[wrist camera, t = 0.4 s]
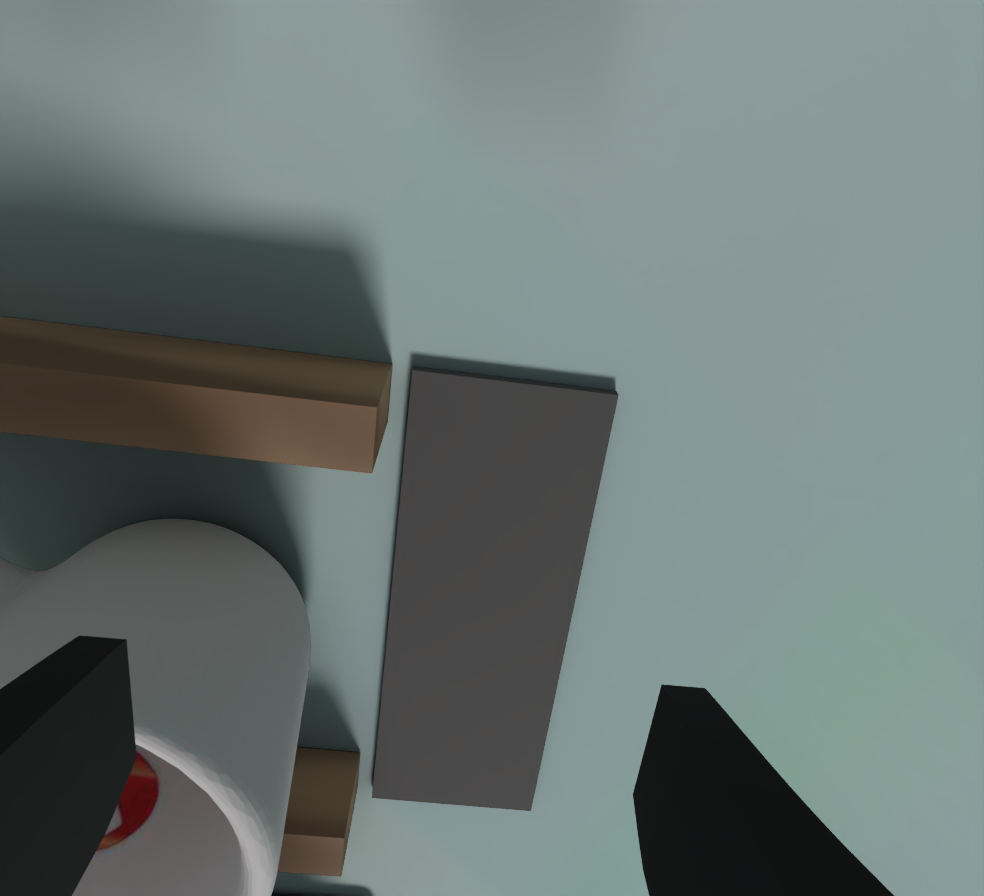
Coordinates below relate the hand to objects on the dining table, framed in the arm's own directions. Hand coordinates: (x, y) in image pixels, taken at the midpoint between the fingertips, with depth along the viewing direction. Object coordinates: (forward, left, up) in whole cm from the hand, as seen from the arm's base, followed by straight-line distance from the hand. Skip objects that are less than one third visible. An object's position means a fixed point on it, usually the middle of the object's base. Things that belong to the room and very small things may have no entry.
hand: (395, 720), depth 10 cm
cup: (-5, +7, -10) cm, 13 cm away
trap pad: (-5, -2, -10) cm, 11 cm away
